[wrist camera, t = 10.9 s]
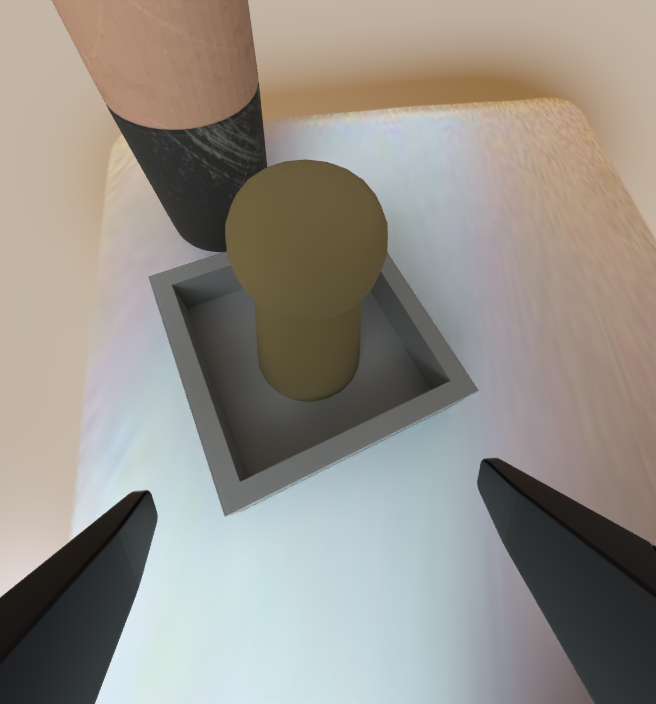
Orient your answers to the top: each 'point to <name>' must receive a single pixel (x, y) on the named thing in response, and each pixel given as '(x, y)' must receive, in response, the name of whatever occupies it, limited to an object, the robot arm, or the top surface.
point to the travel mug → (179, 99)
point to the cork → (307, 270)
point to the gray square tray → (287, 414)
